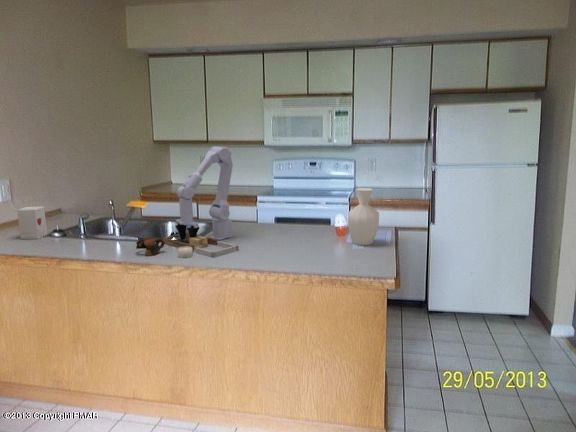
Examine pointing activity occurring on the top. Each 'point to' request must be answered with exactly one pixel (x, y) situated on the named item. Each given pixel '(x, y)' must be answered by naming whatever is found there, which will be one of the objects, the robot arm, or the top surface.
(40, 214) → the supplement box
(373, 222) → the vase
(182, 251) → the cream egg-shaped dome
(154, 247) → the pottery mug
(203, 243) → the oak block
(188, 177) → the robot arm
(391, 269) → the top surface
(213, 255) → the grey corral
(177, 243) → the brown u-shaped frame
